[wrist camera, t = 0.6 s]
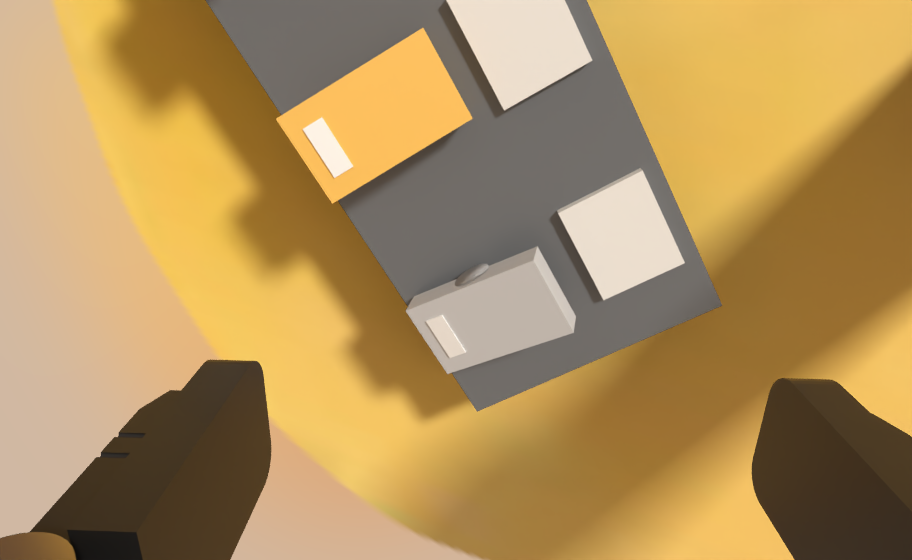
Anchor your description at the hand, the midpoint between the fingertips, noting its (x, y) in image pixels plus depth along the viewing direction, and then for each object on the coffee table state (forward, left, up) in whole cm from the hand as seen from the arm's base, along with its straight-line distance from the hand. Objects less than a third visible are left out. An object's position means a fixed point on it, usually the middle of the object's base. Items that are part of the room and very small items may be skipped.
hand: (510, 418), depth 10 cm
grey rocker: (+3, +5, -15) cm, 16 cm away
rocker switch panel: (0, -4, -20) cm, 20 cm away
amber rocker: (+3, -4, -15) cm, 16 cm away
